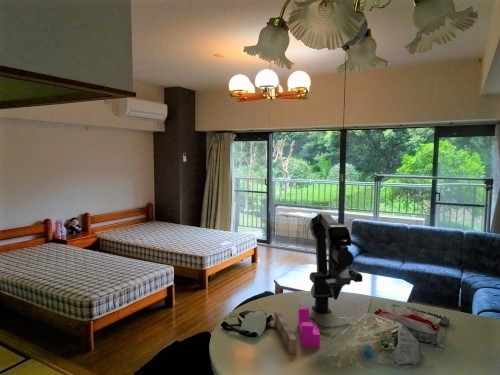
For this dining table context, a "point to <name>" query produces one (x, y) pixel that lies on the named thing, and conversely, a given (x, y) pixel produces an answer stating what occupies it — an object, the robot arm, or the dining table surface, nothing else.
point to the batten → (286, 333)
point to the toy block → (308, 329)
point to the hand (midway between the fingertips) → (335, 299)
